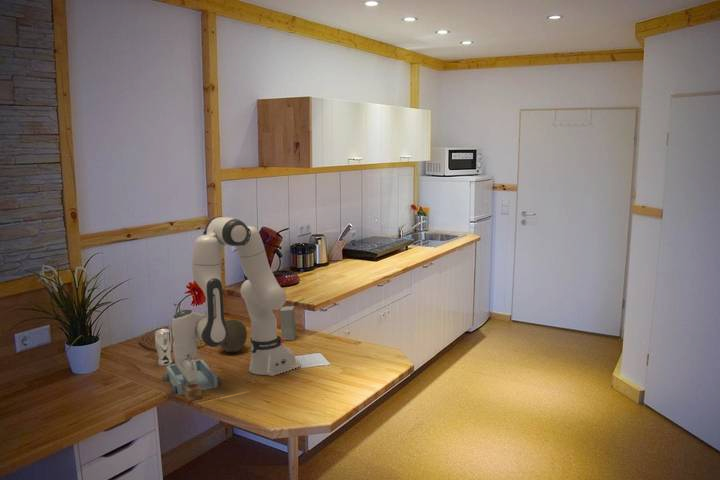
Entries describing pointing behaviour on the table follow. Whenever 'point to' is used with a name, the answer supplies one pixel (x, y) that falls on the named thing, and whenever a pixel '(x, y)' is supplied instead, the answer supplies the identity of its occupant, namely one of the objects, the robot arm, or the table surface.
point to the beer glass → (163, 346)
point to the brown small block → (193, 392)
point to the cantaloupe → (235, 336)
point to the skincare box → (288, 323)
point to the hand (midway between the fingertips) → (187, 384)
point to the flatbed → (204, 380)
